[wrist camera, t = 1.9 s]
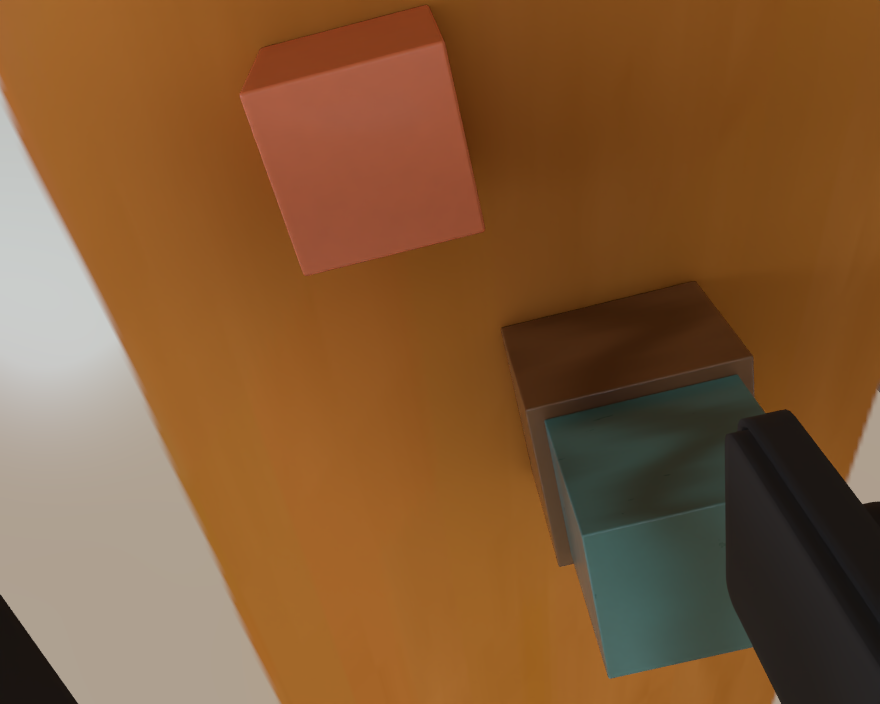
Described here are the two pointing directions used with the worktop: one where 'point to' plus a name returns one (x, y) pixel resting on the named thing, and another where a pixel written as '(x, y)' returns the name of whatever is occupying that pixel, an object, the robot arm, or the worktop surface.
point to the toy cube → (363, 140)
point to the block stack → (638, 465)
